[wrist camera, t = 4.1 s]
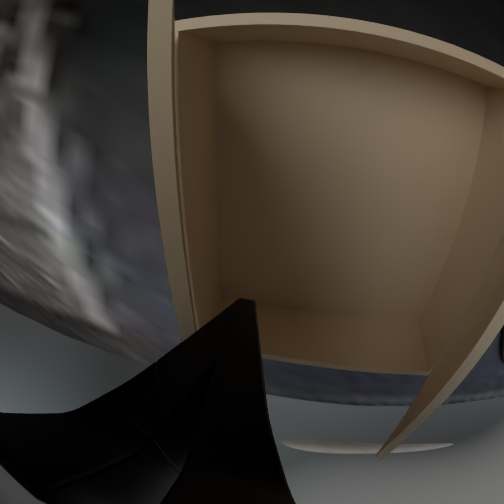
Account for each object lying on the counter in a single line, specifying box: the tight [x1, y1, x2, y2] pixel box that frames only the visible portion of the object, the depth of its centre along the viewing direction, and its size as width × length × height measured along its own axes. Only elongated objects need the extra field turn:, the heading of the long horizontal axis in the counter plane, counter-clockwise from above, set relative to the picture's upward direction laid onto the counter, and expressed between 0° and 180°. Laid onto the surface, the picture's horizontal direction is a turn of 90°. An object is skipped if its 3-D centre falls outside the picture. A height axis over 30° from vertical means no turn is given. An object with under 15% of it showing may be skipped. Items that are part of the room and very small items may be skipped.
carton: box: [175, 13, 504, 375], centre depth 14 cm, size 16×18×5 cm
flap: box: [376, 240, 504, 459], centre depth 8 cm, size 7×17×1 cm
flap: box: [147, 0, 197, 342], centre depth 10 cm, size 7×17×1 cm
